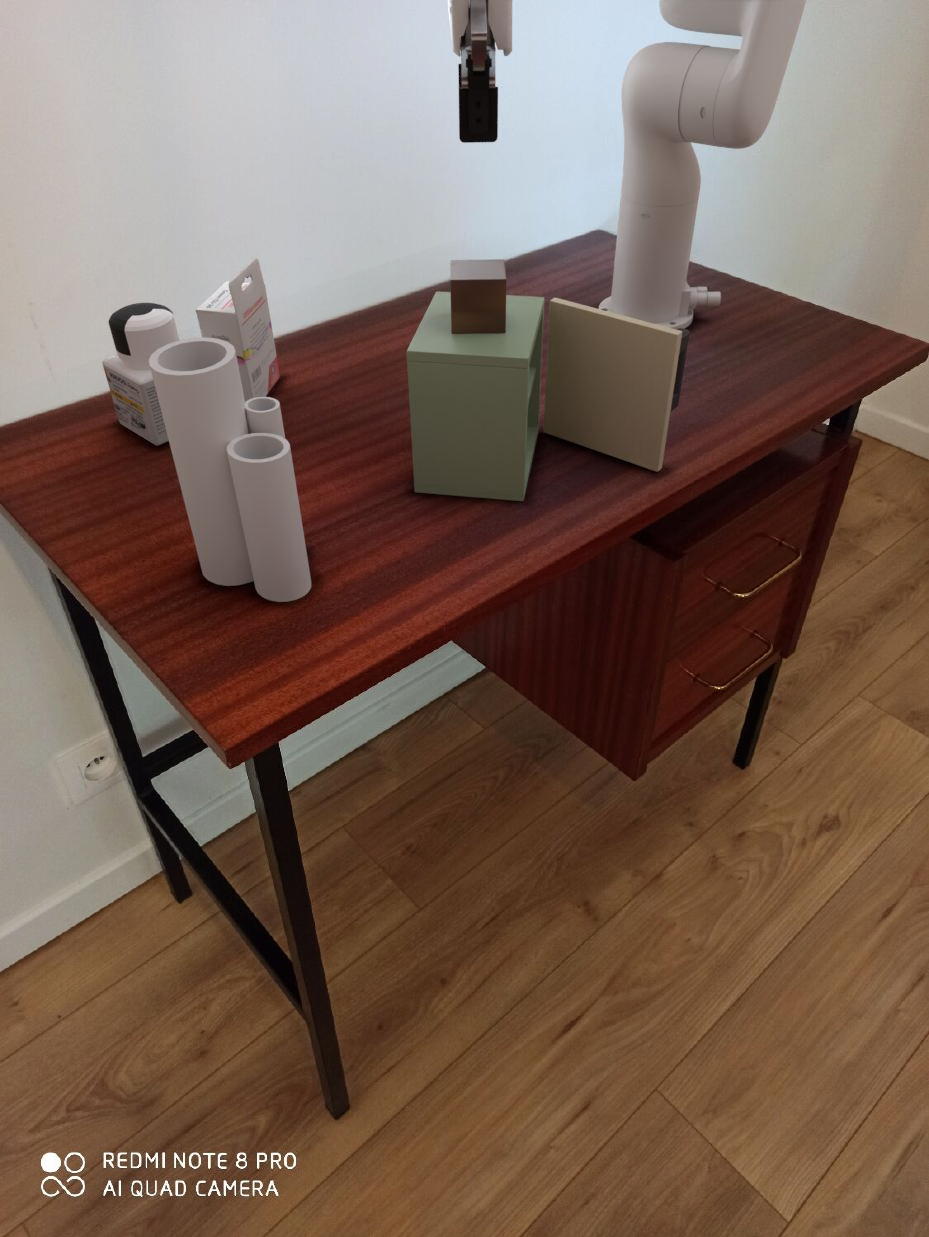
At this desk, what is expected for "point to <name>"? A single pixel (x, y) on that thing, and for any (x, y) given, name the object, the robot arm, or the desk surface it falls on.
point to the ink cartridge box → (244, 328)
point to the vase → (232, 470)
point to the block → (478, 296)
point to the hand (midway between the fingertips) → (477, 127)
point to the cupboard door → (612, 381)
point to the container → (138, 366)
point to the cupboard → (475, 402)
